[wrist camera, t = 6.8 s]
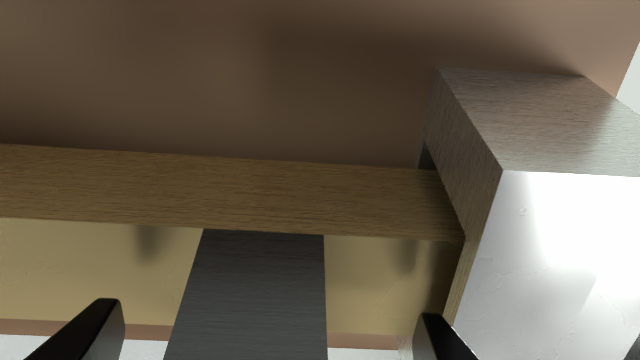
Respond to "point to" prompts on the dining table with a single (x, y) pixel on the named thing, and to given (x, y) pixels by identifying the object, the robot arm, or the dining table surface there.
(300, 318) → the brass t-shaped handle
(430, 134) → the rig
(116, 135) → the board
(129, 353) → the dining table surface
